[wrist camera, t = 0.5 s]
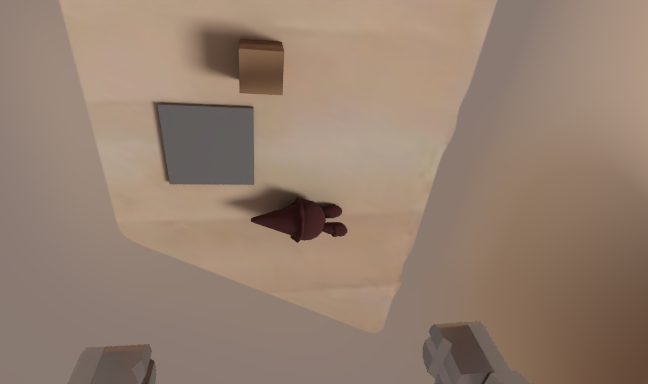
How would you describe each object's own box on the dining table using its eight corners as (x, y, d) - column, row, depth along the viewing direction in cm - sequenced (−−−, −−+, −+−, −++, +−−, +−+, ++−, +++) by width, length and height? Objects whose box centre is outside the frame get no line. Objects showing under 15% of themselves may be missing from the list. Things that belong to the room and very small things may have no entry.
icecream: (249, 253, 55) (342, 251, 59) (254, 224, 50) (356, 224, 54) (247, 216, 59) (334, 217, 64) (252, 186, 54) (346, 189, 59)
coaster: (158, 102, 47) (157, 104, 46) (253, 107, 49) (253, 108, 48) (170, 181, 53) (169, 184, 53) (253, 182, 56) (253, 184, 55)
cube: (240, 38, 44) (238, 48, 40) (281, 42, 45) (284, 51, 41) (241, 80, 47) (239, 93, 43) (280, 82, 48) (282, 95, 44)
